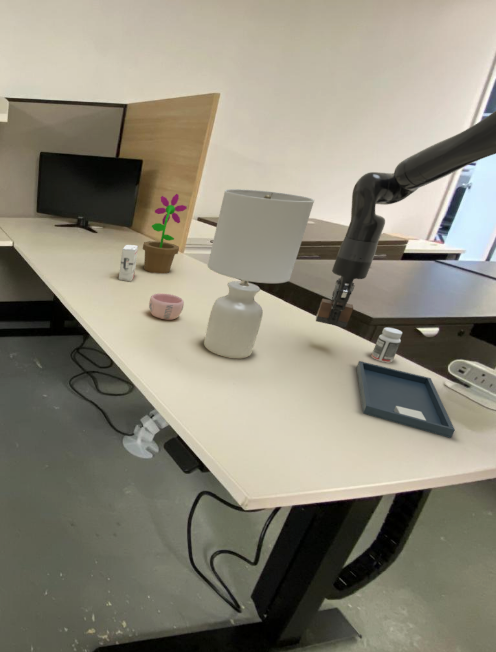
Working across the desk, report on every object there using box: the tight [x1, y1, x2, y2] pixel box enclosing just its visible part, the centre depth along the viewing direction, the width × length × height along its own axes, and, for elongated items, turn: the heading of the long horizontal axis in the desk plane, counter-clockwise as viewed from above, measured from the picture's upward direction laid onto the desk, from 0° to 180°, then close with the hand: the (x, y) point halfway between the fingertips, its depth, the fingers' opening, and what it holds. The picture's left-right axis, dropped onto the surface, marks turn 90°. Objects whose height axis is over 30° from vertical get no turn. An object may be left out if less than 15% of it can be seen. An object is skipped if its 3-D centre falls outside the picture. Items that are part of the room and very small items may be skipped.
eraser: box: [315, 298, 354, 329], centre depth 123 cm, size 7×4×6 cm, turn 60°
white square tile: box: [394, 406, 426, 420], centre depth 95 cm, size 4×4×1 cm
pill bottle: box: [371, 327, 403, 364], centre depth 122 cm, size 5×5×8 cm
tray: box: [355, 360, 456, 439], centre depth 104 cm, size 26×15×2 cm, turn 150°
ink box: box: [118, 244, 139, 283], centre depth 175 cm, size 9×5×12 cm, turn 160°
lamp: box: [203, 188, 315, 359], centre depth 114 cm, size 19×19×39 cm
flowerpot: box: [142, 193, 188, 274], centre depth 184 cm, size 14×14×30 cm
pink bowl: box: [148, 292, 185, 320], centre depth 141 cm, size 12×10×6 cm
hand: (331, 320), depth 124 cm, fingers closed on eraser, 3 cm apart
